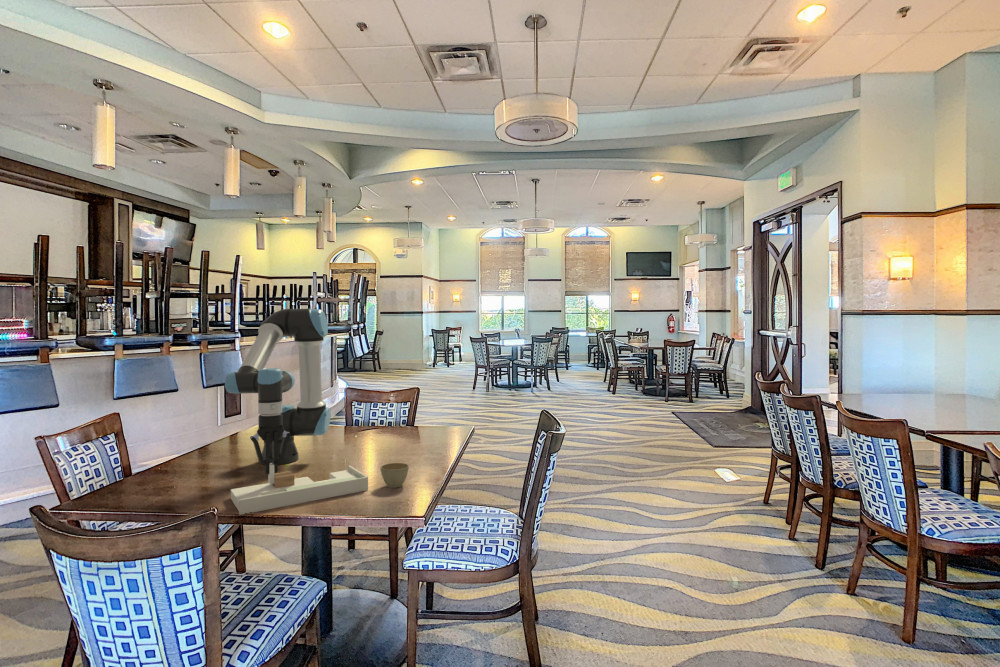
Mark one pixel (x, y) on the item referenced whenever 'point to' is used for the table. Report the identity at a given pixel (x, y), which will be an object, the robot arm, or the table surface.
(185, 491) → the table surface
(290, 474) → the block
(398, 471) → the flower pot
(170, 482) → the table surface
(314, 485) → the tray
